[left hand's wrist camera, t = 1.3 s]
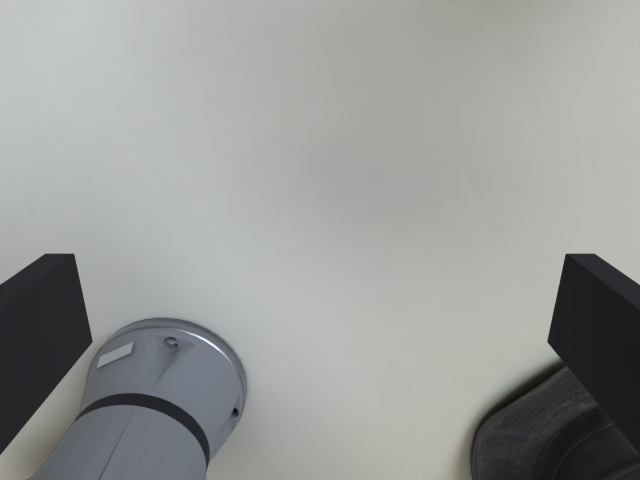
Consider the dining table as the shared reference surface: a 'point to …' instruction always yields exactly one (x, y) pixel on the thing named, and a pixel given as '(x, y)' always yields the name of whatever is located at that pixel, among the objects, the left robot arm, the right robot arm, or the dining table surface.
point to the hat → (553, 438)
